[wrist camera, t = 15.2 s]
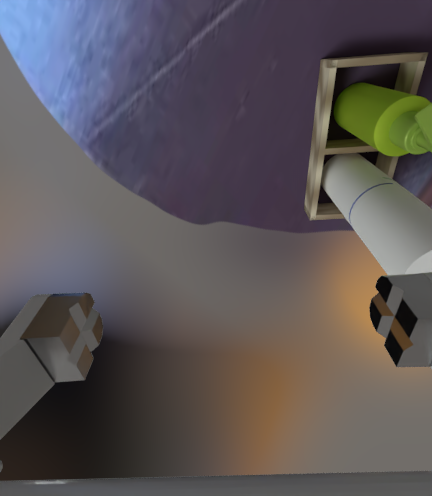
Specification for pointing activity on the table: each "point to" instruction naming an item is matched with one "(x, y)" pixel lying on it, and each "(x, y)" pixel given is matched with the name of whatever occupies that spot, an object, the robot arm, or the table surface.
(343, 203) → the cylindrical container
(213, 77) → the table surface
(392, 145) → the soap dispenser
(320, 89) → the frame
